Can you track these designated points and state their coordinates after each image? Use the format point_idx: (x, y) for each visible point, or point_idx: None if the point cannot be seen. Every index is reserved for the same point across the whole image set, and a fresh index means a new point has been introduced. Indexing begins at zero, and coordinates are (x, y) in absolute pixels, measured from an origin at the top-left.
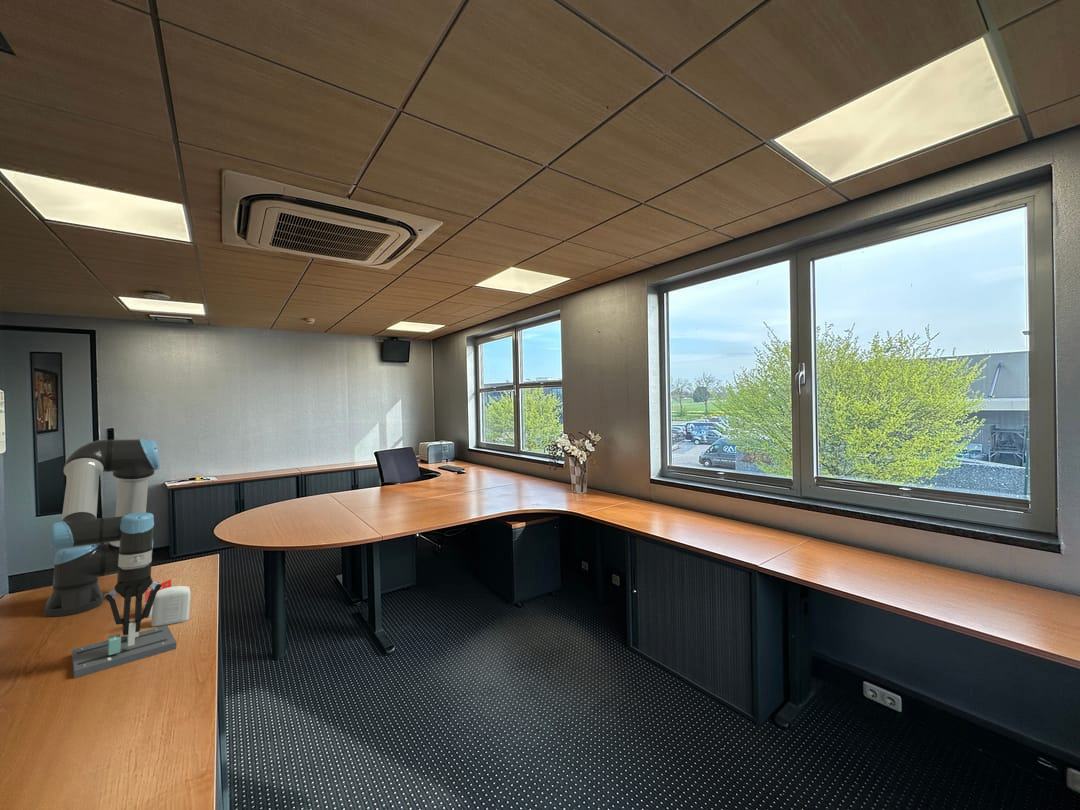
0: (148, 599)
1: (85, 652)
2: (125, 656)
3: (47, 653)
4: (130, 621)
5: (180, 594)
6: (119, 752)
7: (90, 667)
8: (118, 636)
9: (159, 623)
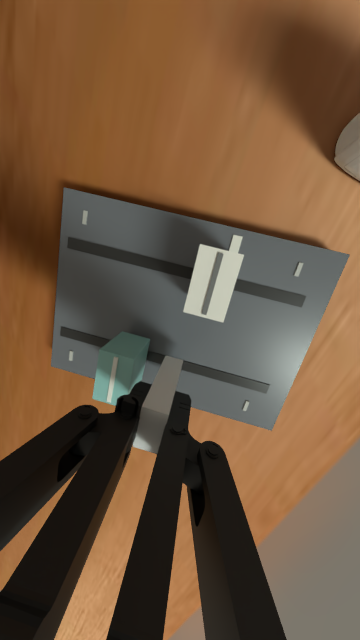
0: (219, 628)
1: (87, 260)
2: None
3: (30, 85)
4: (149, 416)
5: None
6: (73, 603)
7: (81, 373)
8: (124, 383)
9: (358, 174)
